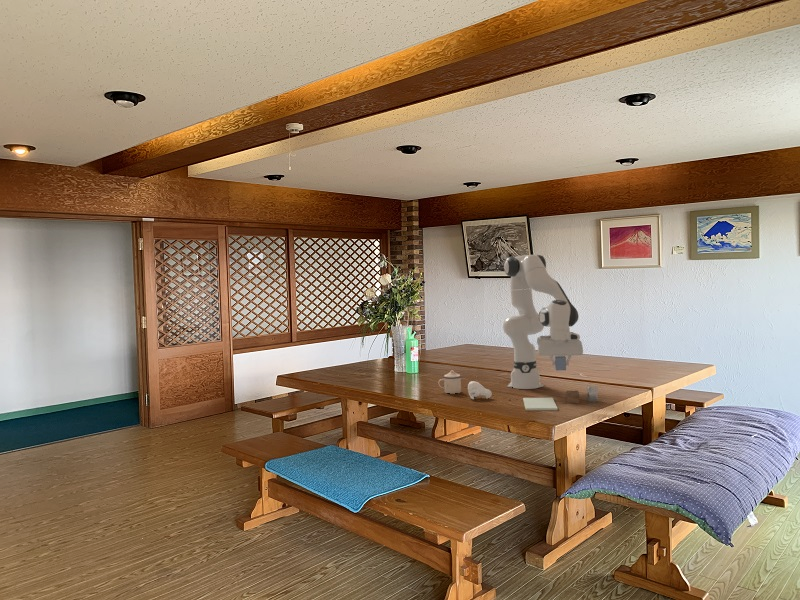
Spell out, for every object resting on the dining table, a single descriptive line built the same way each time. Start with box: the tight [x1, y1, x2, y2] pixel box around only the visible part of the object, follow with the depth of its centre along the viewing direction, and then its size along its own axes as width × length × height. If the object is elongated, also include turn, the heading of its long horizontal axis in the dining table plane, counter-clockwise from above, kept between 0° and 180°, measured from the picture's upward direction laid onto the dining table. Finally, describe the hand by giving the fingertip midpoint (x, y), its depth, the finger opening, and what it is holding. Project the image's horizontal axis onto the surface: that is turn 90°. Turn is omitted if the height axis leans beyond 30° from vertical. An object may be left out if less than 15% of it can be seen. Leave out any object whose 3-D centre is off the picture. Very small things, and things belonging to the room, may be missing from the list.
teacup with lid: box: [437, 370, 462, 395], centre depth 315 cm, size 12×9×12 cm
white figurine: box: [467, 380, 493, 400], centre depth 298 cm, size 6×8×12 cm
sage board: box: [522, 397, 558, 411], centre depth 279 cm, size 22×14×1 cm, turn 171°
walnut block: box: [566, 390, 580, 404], centre depth 282 cm, size 5×5×5 cm
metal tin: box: [586, 385, 599, 403], centre depth 282 cm, size 5×5×7 cm
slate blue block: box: [554, 355, 567, 371], centre depth 276 cm, size 4×4×6 cm
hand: (560, 365), depth 276 cm, fingers closed on slate blue block, 4 cm apart
